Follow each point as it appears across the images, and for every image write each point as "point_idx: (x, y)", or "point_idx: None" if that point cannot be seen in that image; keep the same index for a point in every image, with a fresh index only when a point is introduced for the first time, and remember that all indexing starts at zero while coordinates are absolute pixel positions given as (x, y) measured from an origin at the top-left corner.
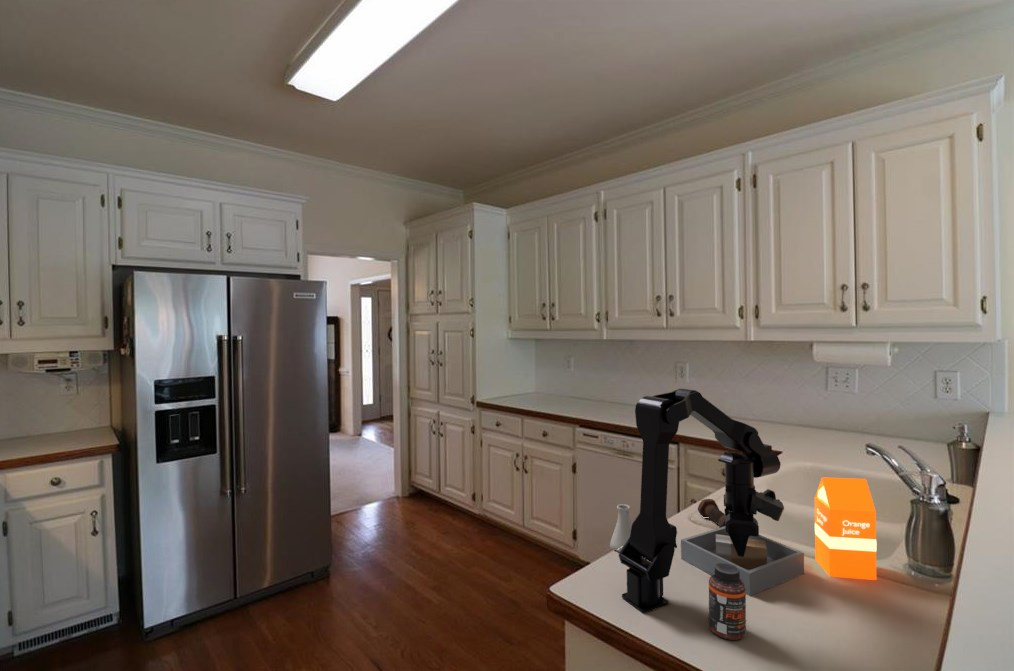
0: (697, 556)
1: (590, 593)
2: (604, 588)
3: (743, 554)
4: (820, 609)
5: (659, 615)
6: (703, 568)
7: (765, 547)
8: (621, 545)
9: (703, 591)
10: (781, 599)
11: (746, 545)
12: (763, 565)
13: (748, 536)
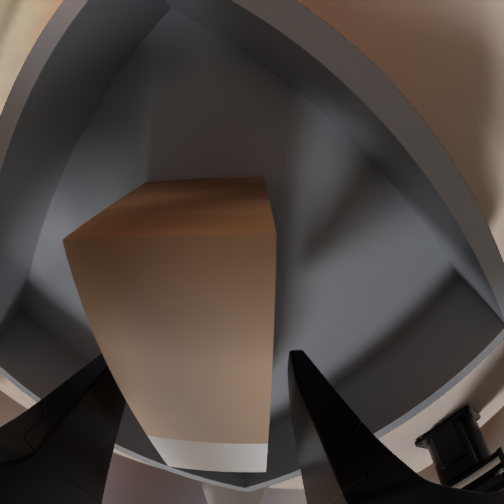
0: None
1: (416, 464)
2: (405, 463)
3: (311, 362)
4: (489, 36)
5: (487, 399)
6: None
7: (245, 244)
8: (263, 498)
9: None
10: (478, 154)
11: (352, 412)
12: (480, 258)
13: (426, 482)
